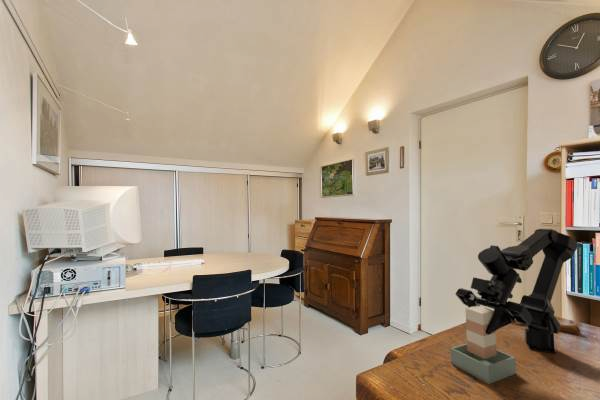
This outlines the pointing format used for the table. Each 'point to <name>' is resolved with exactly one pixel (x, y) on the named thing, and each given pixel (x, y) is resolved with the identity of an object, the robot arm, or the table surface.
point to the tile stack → (480, 332)
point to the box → (483, 364)
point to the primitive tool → (561, 328)
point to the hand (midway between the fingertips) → (477, 329)
